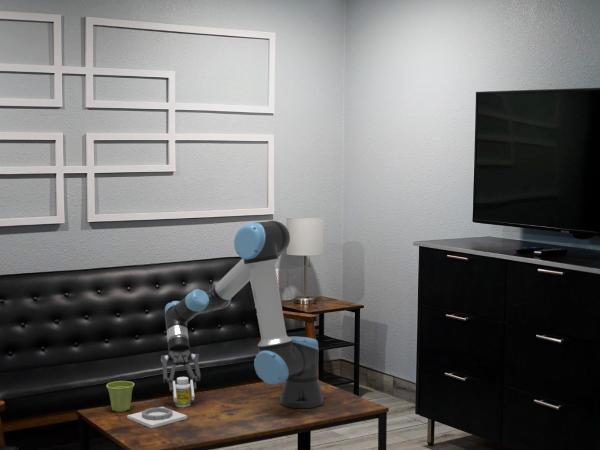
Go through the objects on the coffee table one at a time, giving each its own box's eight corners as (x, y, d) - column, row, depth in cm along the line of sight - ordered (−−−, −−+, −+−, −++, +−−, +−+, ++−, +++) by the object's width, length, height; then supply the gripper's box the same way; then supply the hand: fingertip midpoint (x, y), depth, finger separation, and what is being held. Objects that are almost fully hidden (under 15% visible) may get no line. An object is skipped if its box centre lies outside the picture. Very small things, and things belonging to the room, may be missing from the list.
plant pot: (106, 414, 297) (106, 389, 296) (106, 406, 306) (106, 381, 305) (135, 412, 299) (134, 387, 298) (134, 404, 308) (134, 380, 307)
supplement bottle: (189, 402, 310) (189, 375, 309) (191, 407, 305) (191, 379, 304) (174, 403, 309) (174, 376, 308) (175, 408, 304) (175, 380, 303)
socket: (187, 418, 292) (187, 412, 292) (151, 428, 282) (151, 421, 282) (162, 409, 302) (162, 403, 302) (127, 418, 292) (127, 411, 292)
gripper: (202, 345, 322) (209, 402, 308) (151, 348, 318) (156, 406, 304) (204, 334, 317) (211, 391, 303) (152, 336, 312) (157, 395, 298)
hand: (184, 398), depth 303 cm, fingers closed on supplement bottle, 5 cm apart
